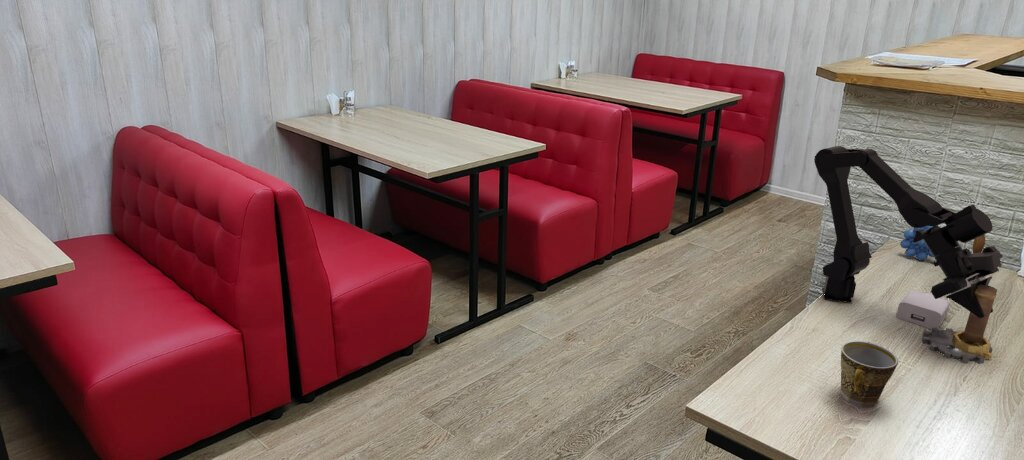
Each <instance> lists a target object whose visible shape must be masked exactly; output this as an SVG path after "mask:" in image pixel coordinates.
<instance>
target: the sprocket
mask: <svg viewBox="0 0 1024 460" xmlns="http://www.w3.org/2000/svg"><path fill="white" fill-rule="evenodd" d="M963 334H964V331H963V330H962V331H961V330H960V331H955V330H953V329H952V328H949V327H946V328H945V329H939V328H938V329H937V328H930V331H929V330H924V331H923V333H922V335H921V336H922V339H921V342H922V344H924V345H930V346H928V350H929V349H930V350H929V351H931V352H932V351H935V352H937V351H938V352H937V353H939V352H940V353H939V354H941V353H942V354H941V355H943V354H944V355H943V358H945V357H946V358H945V359H948V358H950V357H954V358H953V359H955V358H957V359H956V360H959V359H960V360H959V361H960V362H961V361H962V362H961V363H963V362H964V363H965V364H969V362H976V363H978V364H984V363H985V360H987V359H989V360H988V361H991V360H992V358H993V355H994V354H993V353H992V352H993V347H992V346H991V345H992V344H991V343H990V341H989V339H988V338H986V337H984V336H983V338H982V342H980V343H973V342H969V341H967V340H965V339H964V338H963ZM985 358H986V359H985ZM950 359H951V358H950ZM990 359H991V360H990Z"/></svg>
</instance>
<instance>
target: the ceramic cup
mask: <svg viewBox="0 0 1024 460" xmlns="http://www.w3.org/2000/svg"><path fill="white" fill-rule="evenodd" d="M840 351H841V352H840V370H841V371H840V393H841V396H842V397H843V398H844V399H845V400H846V402H848V403H850V404H852V405H854V406H858V407H860V408H865V407H866V408H867V407H868V408H869V407H870V408H871V407H872V408H873V407H875V406H876V405H877V403H878V402H879V400H880V397H881V395H882V393H883V391H884V389H885V387H886V385H887V384H888V382H889V380H890V379H891V377H892V376H893V374H894V372H895V370H896V368H897V366H898V365H899V364H898V363H899V360H898V357H897V355H895V354H894V353H893V352H892V351H891V350H889V349H887V348H886V347H884V346H882V345H878V344H876V343H872V342H867V341H860V340H859V341H858V340H857V341H856V340H854V341H849V342H846V343H844V344H843V345H842V346H841V350H840Z"/></svg>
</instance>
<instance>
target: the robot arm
mask: <svg viewBox="0 0 1024 460" xmlns="http://www.w3.org/2000/svg"><path fill="white" fill-rule="evenodd" d="M814 165H815V168H816V171H817V174H818V175H819V177H820V179H821V180H822V181H823V182H824V183H825V185H826V190H827V196H828V199H829V205H830V210H831V217H832V221H833V226H834V231H835V237H836V240H835V245H834V248H833V256H832V257H833V261H832V262H830V263H828V264H826V265H823V266H822V272H823V273H822V275H823V276H824V277H825V280H824V285H823V287H821V291H822V295H824V294H825V295H824V296H823V299H824V300H827V301H834V302H842V303H849V304H851V303H852V301H853V300H852V299H854V295H855V290H856V286H857V283H856V278H855V277H856V275H859V274H860V273H861V271H863V270H865V269H867V267H868V266H869V265H870V262H871V261H870V259H871V258H873V256H872V254H871V252H870V244H869V242H868V241H866V242H863V241H862V240H861V239H860V237H859V236H858V229H857V227H856V221H855V220H856V219H855V214H854V210H853V205H852V199H851V193H850V189H849V183H848V182H849V181H848V179H849V175H850V173H851V168H852V167H853V168H854V167H857V168H860V169H861V170H862V171H863V172H864V173H865V174H866V175H867V176H868V177H869V178H870V179H871V180H872V181H873V182H874V183H876V185H877V186H879V188H881V190H882V191H884V192H885V193H886V195H888V196H889V197H890V198H891V199H892V200H893V202H894V203H895V204H896V207H897V209H898V212H899V214H900V215H901V217H902V218H903V220H904V221H905V222H906V223H907V225H909V226H910V227H911V228H913V229H914V228H923V227H926V226H933V227H931V228H929V229H927V230H922V229H920V230H917V231H916V234H915V237H914V239H913V242H914V243H916V242H919V241H921V240H924V242H925V243H926V245H927V247H928V248H929V250H930V251H931V253H932V255H933V256H934V257H933V259H935V261H933V262H932V264H933V266H934V267H938V266H939V268H940V269H941V272H942V273H943V275H944V276H945V278H943V279H942V280H943V281H941V282H939V283H937V284H935V285H932V286H931V289H930V294H932V295H933V296H934V298H935V299H938V298H942V297H945V298H946V299H950V300H951V301H953V303H956V304H958V305H959V306H961V307H963V308H964V309H966V310H967V311H968V312H969V313H970V312H971V313H973V314H974V315H976V316H977V317H979V318H983V317H985V315H984V312H983V310H982V308H981V306H980V304H979V302H978V300H977V298H976V295H975V292H976V289H977V287H978V285H988V286H989V284H990V282H991V280H992V279H993V276H992V275H993V274H995V273H997V272H999V271H1000V270H999V268H1000V267H1002V263H1001V262H1002V261H1001V259H1002V258H1003V255H1004V254H1002V253H1001V252H1000V250H998V248H996V246H995V245H989V246H986V247H985V246H984V248H983V250H982V252H979V253H974V254H973V252H971V250H970V249H969V248H967V247H966V248H964V249H963V247H962V246H961V245H960V243H959V242H961V243H963V244H966V243H969V242H971V241H974V239H975V238H978V237H980V236H982V235H984V234H985V235H987V234H988V233H991V232H992V231H993V223H992V221H991V219H990V217H989V216H988V214H986V213H984V212H983V211H982V210H981V209H978V208H977V207H976V205H975V204H973V203H972V204H970V205H967V206H965V207H963V208H962V209H961V210H960V211H957V212H954V211H952V210H950V209H948V208H946V207H943V206H942V205H941V204H940V202H938V201H937V200H935V199H934V198H932V197H931V196H930V195H928V194H926V193H924V192H921V191H919V190H917V189H915V188H914V187H912V186H911V185H910V184H909V183H908V182H907V181H905V179H904V178H903V177H902V176H900V174H899V173H897V172H896V171H895V170H894V169H893V168H892V167H891V166H890V165H889V164H888V163H887V162H885V161H884V160H883V158H881V157H880V155H878V153H877V151H876V150H874V149H872V148H865V149H862V148H860V149H859V148H850V149H848V148H846V147H844V146H842V145H836V146H831V147H827V148H822V149H820V150H819V151H818V152H817V153H816V154H815V156H814ZM943 224H945V225H944V226H942V227H941V226H939V225H943ZM937 225H938V226H937ZM937 255H938V256H937ZM935 256H936V257H935ZM998 267H999V268H998ZM989 275H991V276H989ZM986 276H989V277H986ZM993 312H994V309H993V307H992V309H991V312H990V314H991V313H993Z"/></svg>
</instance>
